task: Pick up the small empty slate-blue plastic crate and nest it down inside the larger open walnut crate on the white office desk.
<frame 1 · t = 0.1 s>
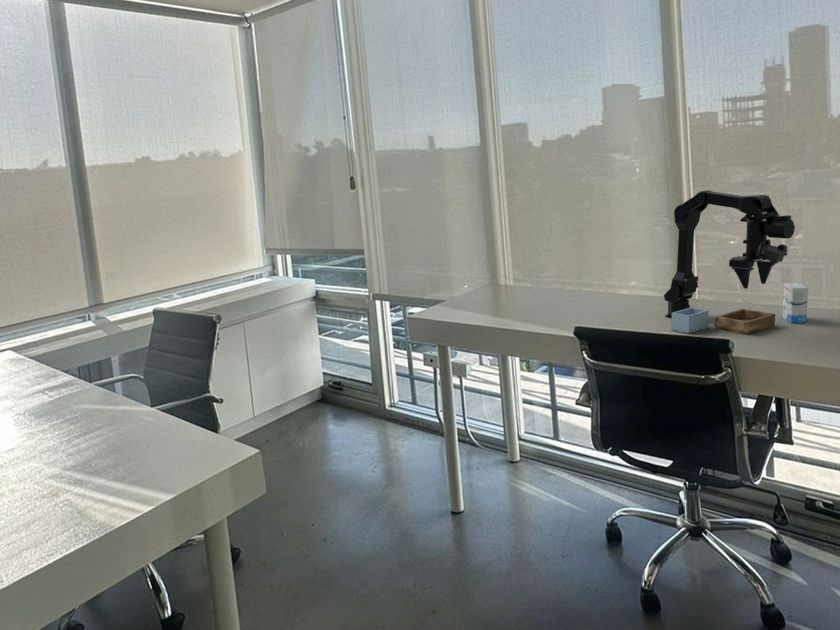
hand: (754, 286, 212), 15 cm above the table, fingers open, 9 cm apart
walnut crate: (744, 327, 220), on the table
ink box: (794, 320, 224), on the table
blue crate: (689, 329, 223), on the table
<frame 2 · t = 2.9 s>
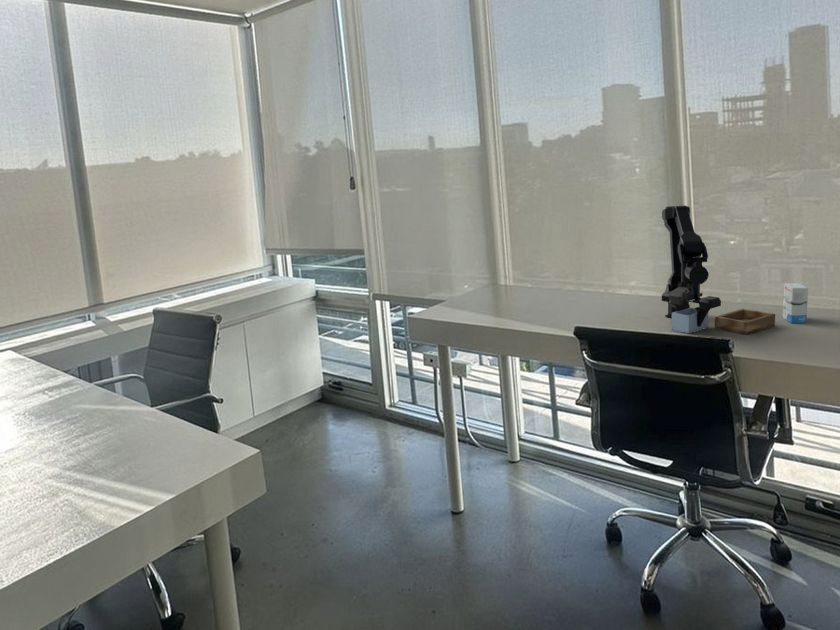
hand: (689, 324, 222), 2 cm above the table, fingers closed on blue crate, 6 cm apart
blue crate: (689, 329, 223), on the table, touching gripper
everything else where it was.
when the fingers open (4 cm above the table, at t = 7.3 s): blue crate drops 2 cm, resting on walnut crate.
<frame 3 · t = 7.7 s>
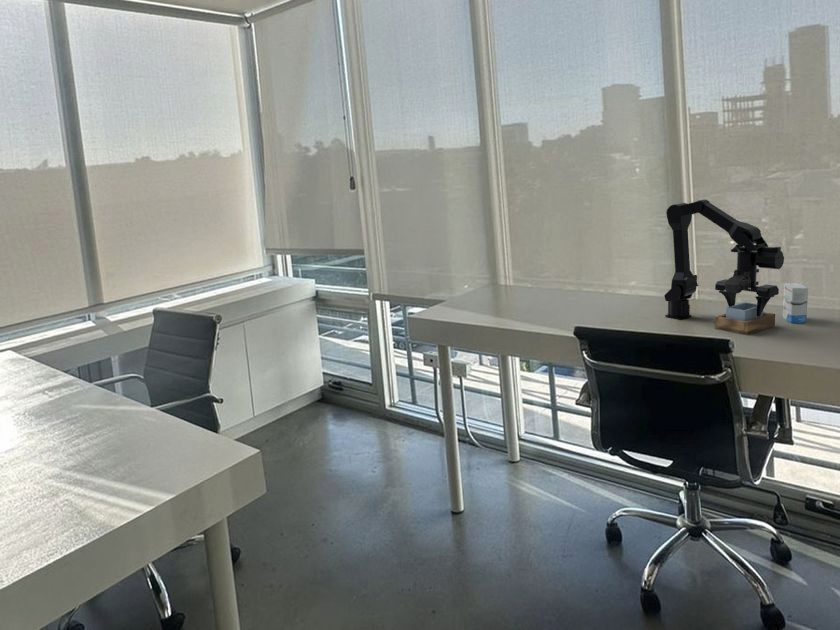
hand: (745, 313, 219), 4 cm above the table, fingers open, 9 cm apart
blue crate: (744, 324, 220), point 1 cm above the table, touching walnut crate
everything else where it was.
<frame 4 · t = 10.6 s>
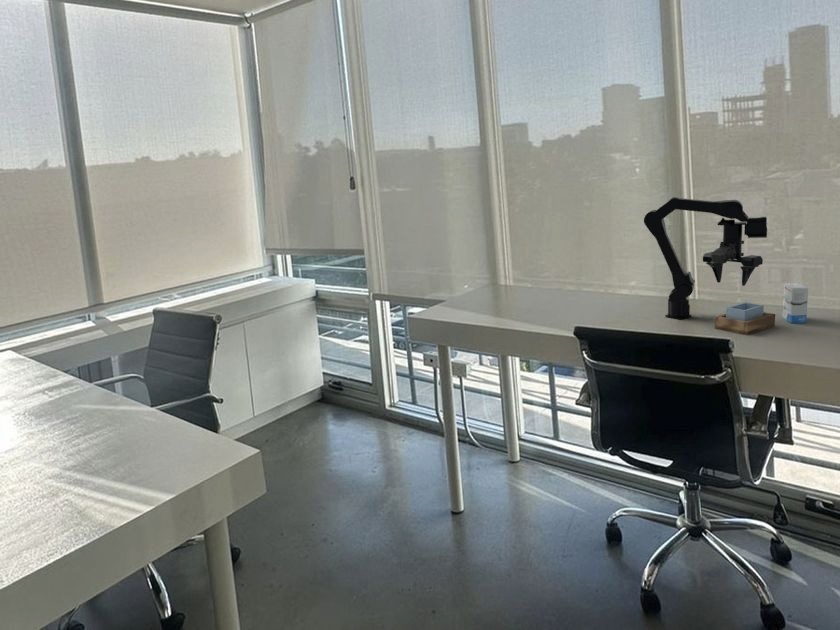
hand: (731, 284, 229), 12 cm above the table, fingers open, 9 cm apart
nothing on the table moved.
at the end: blue crate 0.1 cm off-centre on the walnut crate, point 1.0 cm above the walnut crate's base; blue crate tilted 0°; the gripper is holding nothing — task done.
